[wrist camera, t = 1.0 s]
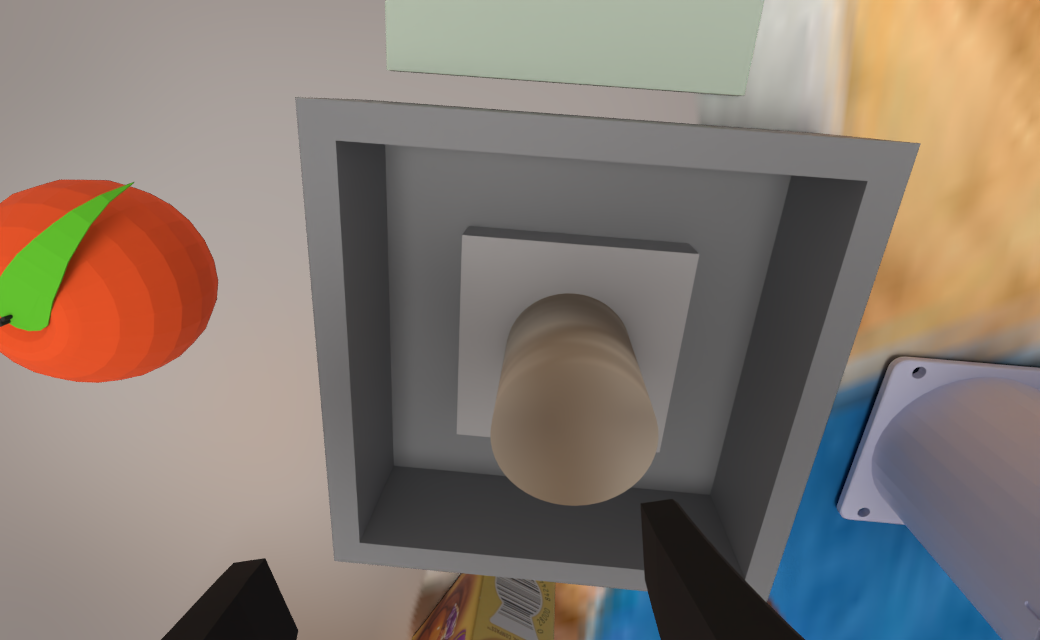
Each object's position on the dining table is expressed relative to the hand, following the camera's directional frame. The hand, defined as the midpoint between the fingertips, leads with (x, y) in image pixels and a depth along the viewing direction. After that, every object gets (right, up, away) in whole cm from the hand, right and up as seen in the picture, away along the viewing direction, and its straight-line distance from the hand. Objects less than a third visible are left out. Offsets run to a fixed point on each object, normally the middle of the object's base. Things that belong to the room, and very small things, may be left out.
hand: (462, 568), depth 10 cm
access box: (+3, +5, +11) cm, 13 cm away
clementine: (-13, +8, +11) cm, 19 cm away
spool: (+3, +4, +9) cm, 10 cm away
